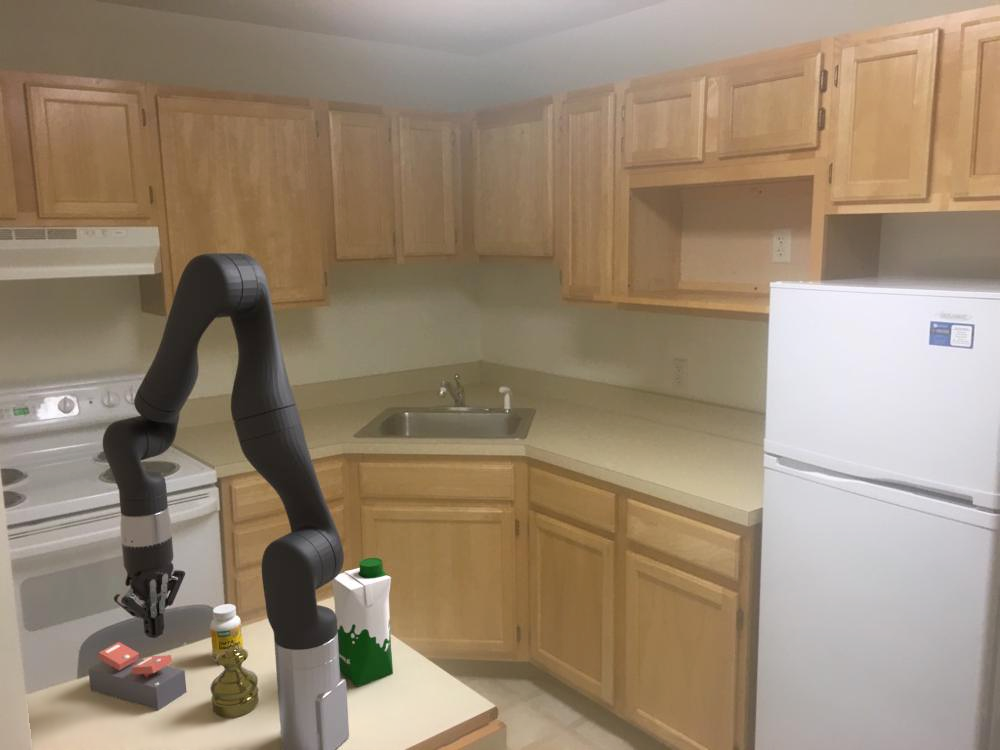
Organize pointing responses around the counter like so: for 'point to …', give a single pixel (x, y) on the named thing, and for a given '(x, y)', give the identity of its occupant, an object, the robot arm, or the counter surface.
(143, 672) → the near rocker
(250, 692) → the gold chess piece
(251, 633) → the counter surface
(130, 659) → the far rocker
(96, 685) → the switch box
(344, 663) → the milk carton
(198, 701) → the counter surface
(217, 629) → the supplement bottle
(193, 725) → the counter surface
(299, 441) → the robot arm
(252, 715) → the counter surface
